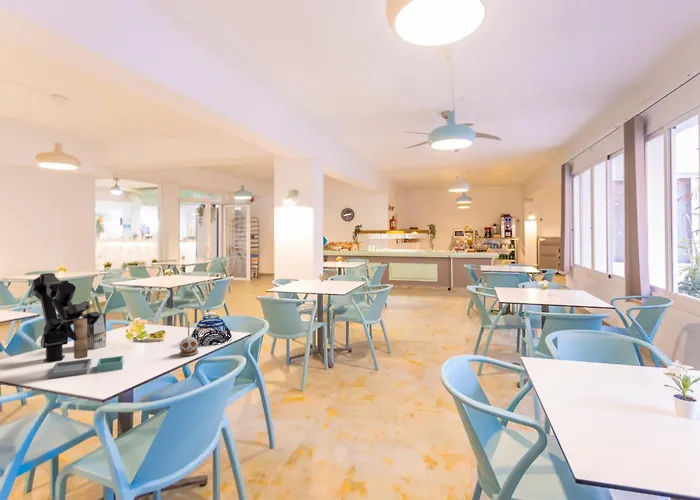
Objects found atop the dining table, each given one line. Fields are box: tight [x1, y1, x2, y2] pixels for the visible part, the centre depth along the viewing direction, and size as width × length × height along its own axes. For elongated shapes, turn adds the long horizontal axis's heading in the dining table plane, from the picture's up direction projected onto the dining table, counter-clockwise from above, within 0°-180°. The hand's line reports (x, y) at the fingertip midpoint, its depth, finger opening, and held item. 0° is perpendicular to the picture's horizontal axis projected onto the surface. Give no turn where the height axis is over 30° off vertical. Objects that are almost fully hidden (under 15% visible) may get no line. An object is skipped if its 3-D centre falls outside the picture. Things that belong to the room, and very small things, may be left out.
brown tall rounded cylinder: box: [73, 319, 88, 360], centre depth 153 cm, size 4×4×15 cm
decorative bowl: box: [190, 311, 233, 346], centre depth 198 cm, size 20×20×14 cm
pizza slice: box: [132, 329, 166, 343], centre depth 204 cm, size 16×21×3 cm
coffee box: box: [81, 312, 107, 350], centre depth 186 cm, size 9×6×16 cm
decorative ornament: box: [179, 321, 199, 357], centre depth 175 cm, size 8×8×15 cm
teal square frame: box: [96, 355, 124, 373], centre depth 158 cm, size 9×9×3 cm
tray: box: [47, 358, 93, 380], centre depth 154 cm, size 14×12×2 cm
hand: (82, 338), depth 152 cm, fingers closed on brown tall rounded cylinder, 4 cm apart
